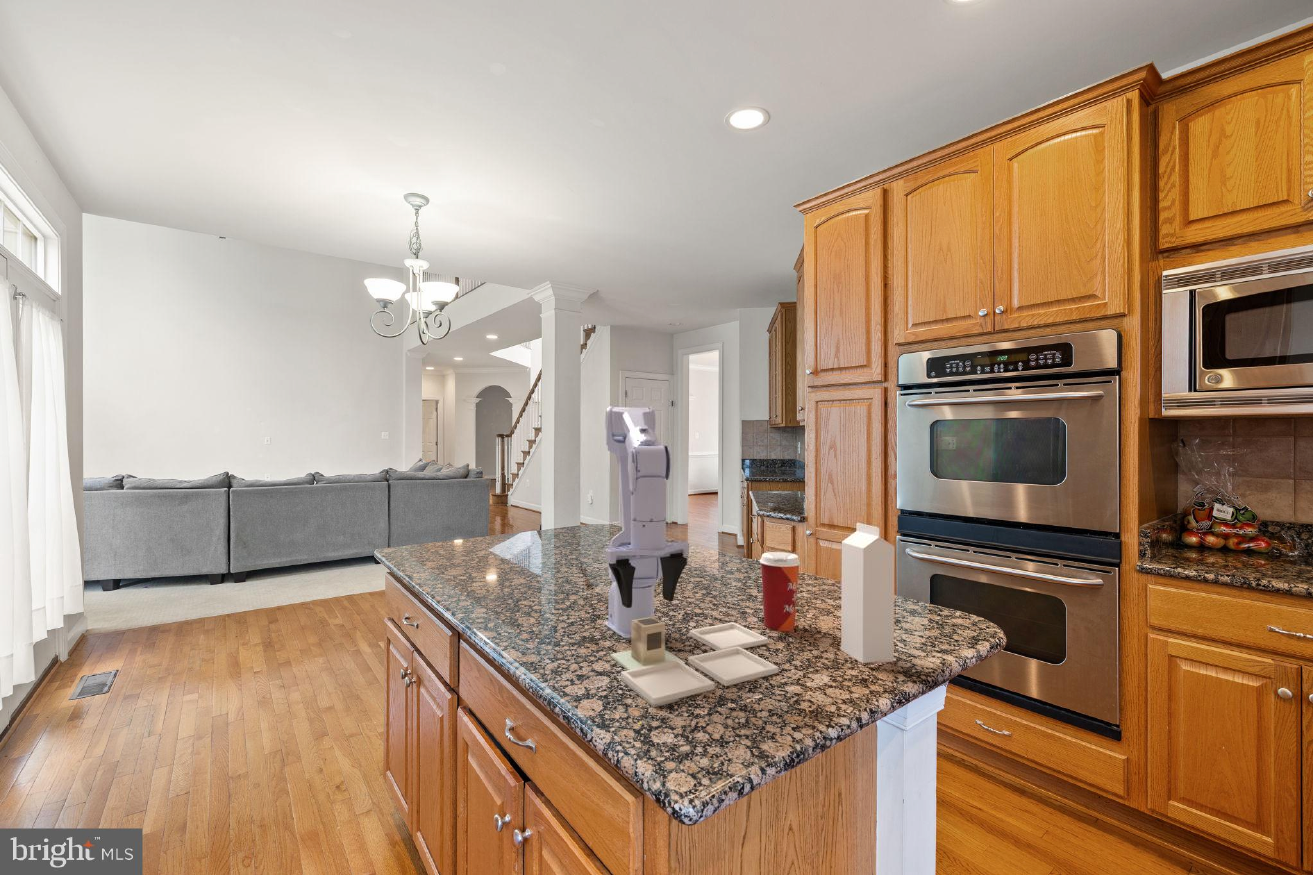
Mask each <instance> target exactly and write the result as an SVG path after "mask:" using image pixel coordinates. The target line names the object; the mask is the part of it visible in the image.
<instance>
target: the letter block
mask: <svg viewBox="0 0 1313 875" xmlns="http://www.w3.org/2000/svg"><path fill="white" fill-rule="evenodd" d="M630 639H631V641H630V642H631V644H630V645H631V646H630V647H631V648H630V650H631V657H632V658H633V659H635V660H636V661H637V662H639V663H640V664H642V665H648V664H652V663H657V662H661V661H665V650H666V623H665V622H664V621H662V620H660V619H658V618H656V617H655V616H654V617H648V618H642V619H636V620H632V629H631V638H630Z"/></svg>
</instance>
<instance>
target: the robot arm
mask: <svg viewBox="0 0 1313 875" xmlns="http://www.w3.org/2000/svg"><path fill="white" fill-rule="evenodd" d="M656 421H657V418H656V411H655V409H654V408H653V406H648V407H631V406H629V407H627V406H626V407H625V406H624V407H621V406H617V407H616V406H608V407H607V408H606V410H605V421H604V424H605V425H604V427H605V437H606V438H605V444H606V447H607V451H608V452H610V453H612V454H613V455H615V457H616V458H615V459H616V463H617V466H618V476H619V477H618V478H619V491H620V492H619V493H620V512H621V513H620V514H621V530H622V531H621V530H620V532H619V533H617V534H616V535H615V536H614V537H612V538H611V539H610V542H609V544H608V548H605V551H604V552H605V553H604V557H605V558H604V560H605V561H604V562H606V563H607V564H608V566H607V568H608V577H609V580H611V582H612V584H611V585H610V587H609V590H608V620H607V621H604V622H603V624H604V625H605V626H606V627H608V628H609V629H610V630H612V631H613V632H615V633H616V634H618V635H619V636H621V637H622V638H624V639H631V629H632V620H636V619H642V618H648V617H655V586H656V585H657V581H660V579H661V578H662V598H663V599H664V600H665V601H667V602H673V601H674V598H675V593H676V589H677V585H678V583H679V580H680V578H681V576H682V573H683V571H684V570H685V568H686V566H687V564H688V558H687V557H686V556H689V554H690V543H688V542H684V541H678V542H677V541H676V542H673V541H672V542H667V481H668V480H670V476H671V470H672V469H671V468H672V459H671V451H670V448H669V445H668V444H662V445H661V444H660V441H659V439H658V436H657V434H656V427H657V426H656V424H657V422H656Z"/></svg>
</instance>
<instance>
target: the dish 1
mask: <svg viewBox="0 0 1313 875" xmlns="http://www.w3.org/2000/svg"><path fill="white" fill-rule="evenodd" d="M620 681H622V682H623V683H624V684H625V685H627V687H629V689H631V690H632V691H634V692H635V693H636V694H637V695H638V696H639V697H640V698H642V699H643V700H644V701H645V702H647V703H648V704H649V705H650V706H651V707H652V708H656V707H661V706H665V705H669V704H673V703H676V702H680V701H682V700H681V699H682V698H687V697H690V696H693V695H697V694H701V693H705V692H709V691H712V690H713V691H714V690H715V682H714V681H712V680H710V679H709V678H708V677H706V676H704V675H703V674H701V673H700V672H698V671H697V670H694V668H692V667H690V666H688V665H687V664H686V663H683V662H681V661H679V660H678V659H677V660H673V661H668V662H664V663H659V664H654V665H650V666H645V667H641V668H636V669H631V670H627V669H626V670H624V671H620Z"/></svg>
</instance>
